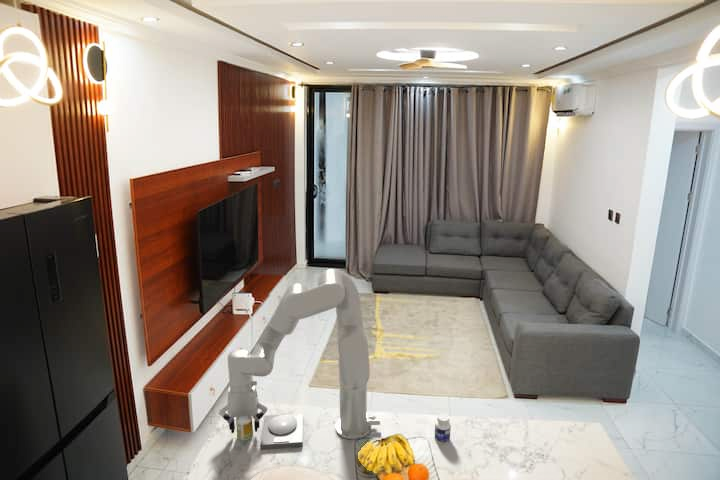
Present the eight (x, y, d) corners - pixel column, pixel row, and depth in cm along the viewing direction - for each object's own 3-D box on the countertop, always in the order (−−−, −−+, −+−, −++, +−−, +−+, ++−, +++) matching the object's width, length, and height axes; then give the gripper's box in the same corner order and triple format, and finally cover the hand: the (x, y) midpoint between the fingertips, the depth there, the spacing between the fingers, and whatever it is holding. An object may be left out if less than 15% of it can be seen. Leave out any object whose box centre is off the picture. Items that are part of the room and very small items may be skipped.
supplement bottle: (255, 431, 175) (253, 407, 172) (250, 441, 170) (248, 416, 167) (240, 430, 175) (238, 406, 173) (235, 440, 170) (233, 416, 167)
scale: (303, 417, 182) (302, 411, 181) (302, 447, 167) (302, 440, 166) (264, 420, 181) (264, 413, 180) (260, 449, 165) (260, 442, 164)
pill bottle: (431, 439, 170) (432, 416, 168) (440, 432, 174) (442, 410, 171) (443, 446, 166) (444, 424, 164) (453, 439, 170) (454, 417, 167)
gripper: (268, 378, 171) (270, 421, 176) (217, 380, 170) (221, 424, 175) (266, 390, 164) (269, 435, 169) (213, 393, 162) (217, 438, 167)
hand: (244, 429), depth 172 cm, fingers open, 7 cm apart
